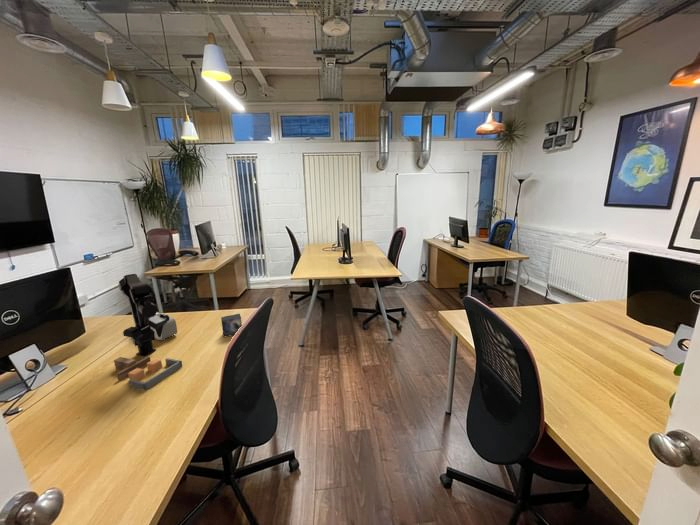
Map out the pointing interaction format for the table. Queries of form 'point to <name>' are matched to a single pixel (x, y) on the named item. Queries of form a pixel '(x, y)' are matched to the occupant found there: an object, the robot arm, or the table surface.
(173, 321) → the light grey rounded block
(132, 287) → the robot arm
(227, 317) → the small box
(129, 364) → the brown angular piece
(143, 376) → the chip
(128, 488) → the table surface
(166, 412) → the table surface
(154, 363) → the orange cube
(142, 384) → the tray
